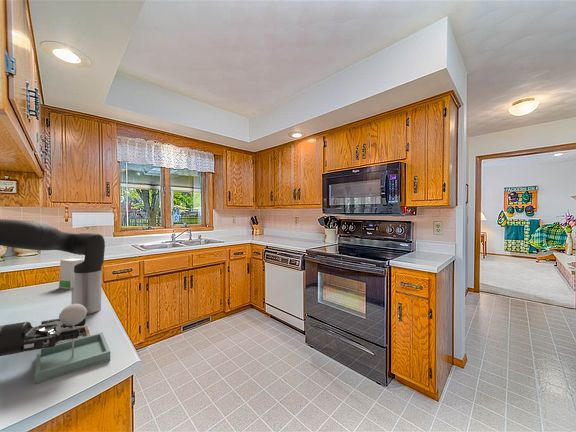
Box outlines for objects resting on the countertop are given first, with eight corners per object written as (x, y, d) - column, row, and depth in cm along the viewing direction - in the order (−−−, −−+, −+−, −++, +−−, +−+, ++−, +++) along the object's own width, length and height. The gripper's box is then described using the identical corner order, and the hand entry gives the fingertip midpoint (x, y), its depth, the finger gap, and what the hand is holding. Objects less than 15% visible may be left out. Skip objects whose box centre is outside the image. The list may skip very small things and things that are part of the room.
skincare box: (58, 288, 136) (59, 260, 136) (70, 284, 143) (71, 258, 143) (71, 289, 135) (71, 260, 135) (83, 285, 141) (83, 258, 141)
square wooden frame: (49, 340, 81) (49, 334, 81) (87, 331, 88) (87, 325, 88) (49, 352, 74) (49, 346, 74) (90, 341, 81) (90, 335, 81)
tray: (37, 357, 71) (37, 349, 71) (102, 340, 82) (102, 332, 82) (34, 384, 60) (34, 374, 60) (110, 359, 71) (110, 351, 71)
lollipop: (84, 348, 75) (84, 299, 75) (88, 355, 72) (89, 303, 72) (56, 357, 71) (57, 304, 71) (60, 365, 67) (61, 309, 67)
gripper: (-13, 338, 58) (77, 323, 66) (14, 316, 70) (87, 306, 78) (-13, 370, 58) (77, 351, 66) (14, 342, 70) (87, 329, 78)
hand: (82, 326), depth 72 cm, fingers open, 8 cm apart
